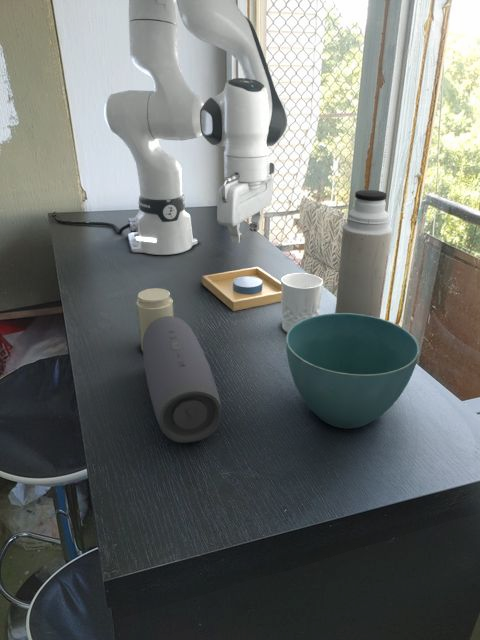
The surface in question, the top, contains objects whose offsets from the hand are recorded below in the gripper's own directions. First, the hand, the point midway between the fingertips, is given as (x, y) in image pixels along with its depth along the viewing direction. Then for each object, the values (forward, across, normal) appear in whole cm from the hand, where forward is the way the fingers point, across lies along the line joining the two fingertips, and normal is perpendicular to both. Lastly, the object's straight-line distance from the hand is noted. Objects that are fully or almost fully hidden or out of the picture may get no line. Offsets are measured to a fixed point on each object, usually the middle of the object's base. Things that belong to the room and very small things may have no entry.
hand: (245, 236), depth 112 cm
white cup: (+13, -12, -17) cm, 25 cm away
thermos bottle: (+13, -15, -29) cm, 35 cm away
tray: (+13, 0, 0) cm, 13 cm away
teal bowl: (+13, -36, -33) cm, 50 cm away
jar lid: (+11, 0, 0) cm, 11 cm away
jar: (+13, -31, +4) cm, 33 cm away
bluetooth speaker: (+13, -44, -9) cm, 47 cm away
